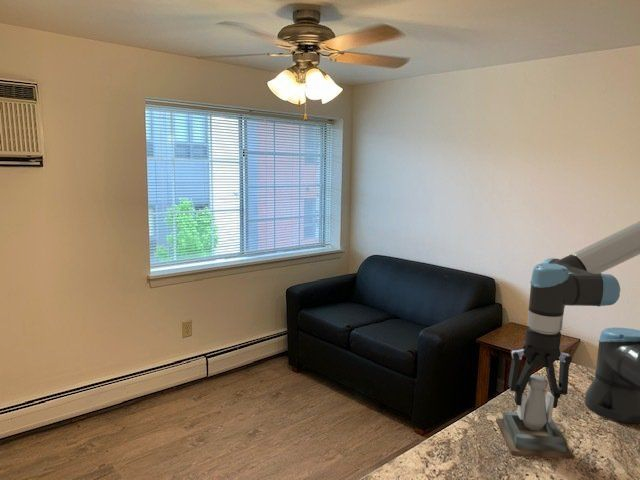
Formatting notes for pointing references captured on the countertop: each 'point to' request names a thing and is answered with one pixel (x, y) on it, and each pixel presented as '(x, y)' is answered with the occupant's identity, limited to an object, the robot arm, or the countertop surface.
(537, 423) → the salt shaker
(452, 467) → the countertop surface
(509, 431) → the collar socket
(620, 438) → the countertop surface
